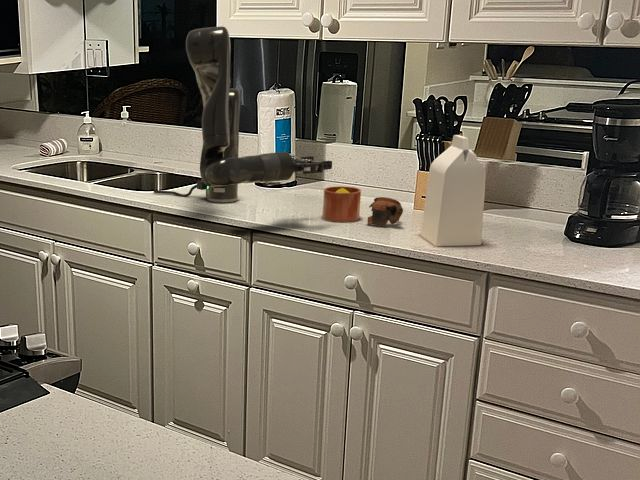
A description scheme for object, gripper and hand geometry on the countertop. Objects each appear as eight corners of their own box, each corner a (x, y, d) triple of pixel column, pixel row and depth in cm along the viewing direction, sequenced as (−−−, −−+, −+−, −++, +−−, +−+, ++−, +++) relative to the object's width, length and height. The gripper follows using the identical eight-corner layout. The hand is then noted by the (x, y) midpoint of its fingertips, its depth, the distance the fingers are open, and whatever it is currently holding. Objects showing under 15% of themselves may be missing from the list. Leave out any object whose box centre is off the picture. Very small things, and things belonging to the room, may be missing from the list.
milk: (420, 234, 245) (429, 133, 235) (462, 233, 245) (474, 133, 236) (436, 246, 234) (446, 140, 224) (480, 245, 234) (493, 139, 225)
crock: (314, 217, 265) (316, 189, 262) (340, 212, 271) (341, 185, 268) (341, 223, 257) (343, 194, 255) (366, 218, 263) (368, 190, 260)
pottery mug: (357, 224, 258) (364, 196, 259) (381, 236, 263) (388, 208, 264) (387, 221, 248) (395, 192, 248) (412, 233, 252) (420, 205, 253)
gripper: (287, 156, 241) (338, 152, 248) (258, 149, 253) (307, 145, 260) (286, 185, 244) (337, 180, 251) (257, 177, 256) (306, 172, 263)
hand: (321, 162), depth 255 cm, fingers open, 8 cm apart
